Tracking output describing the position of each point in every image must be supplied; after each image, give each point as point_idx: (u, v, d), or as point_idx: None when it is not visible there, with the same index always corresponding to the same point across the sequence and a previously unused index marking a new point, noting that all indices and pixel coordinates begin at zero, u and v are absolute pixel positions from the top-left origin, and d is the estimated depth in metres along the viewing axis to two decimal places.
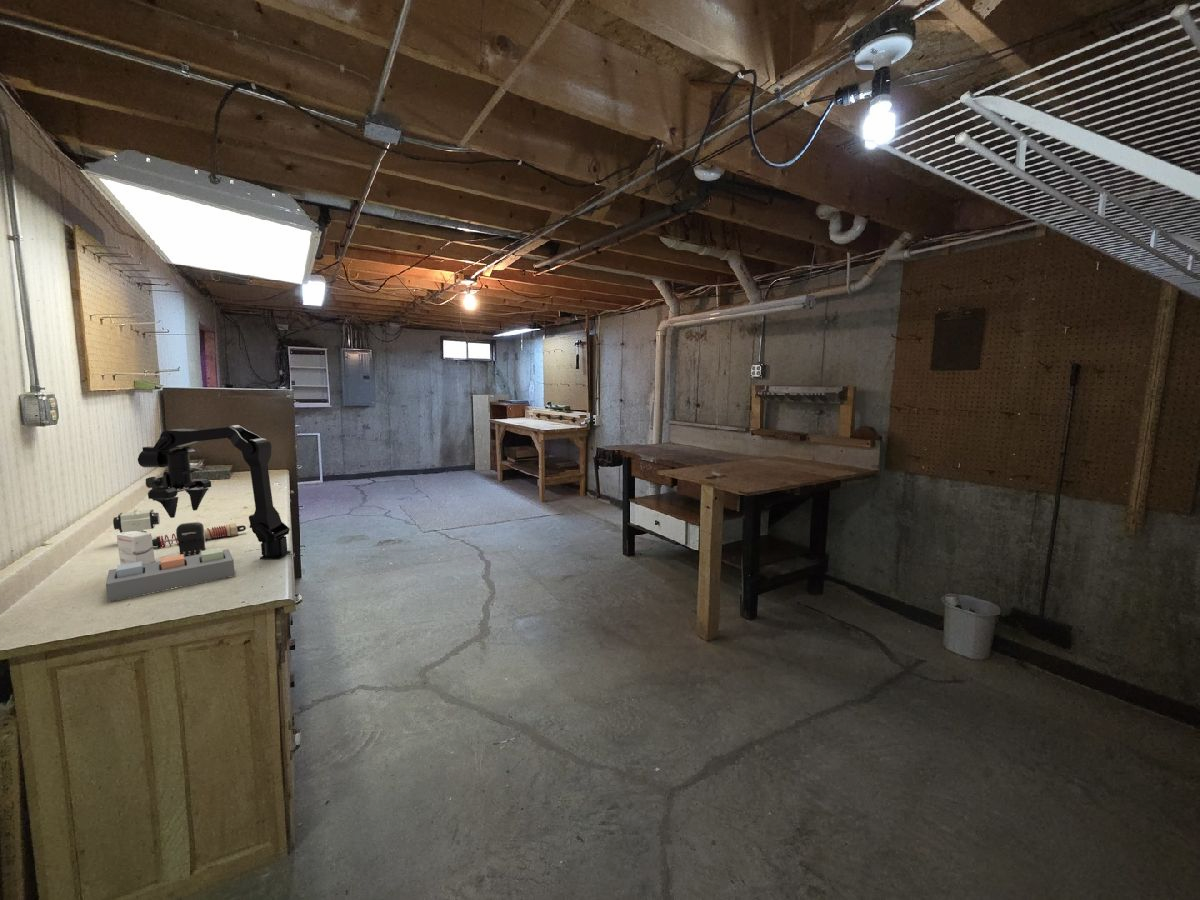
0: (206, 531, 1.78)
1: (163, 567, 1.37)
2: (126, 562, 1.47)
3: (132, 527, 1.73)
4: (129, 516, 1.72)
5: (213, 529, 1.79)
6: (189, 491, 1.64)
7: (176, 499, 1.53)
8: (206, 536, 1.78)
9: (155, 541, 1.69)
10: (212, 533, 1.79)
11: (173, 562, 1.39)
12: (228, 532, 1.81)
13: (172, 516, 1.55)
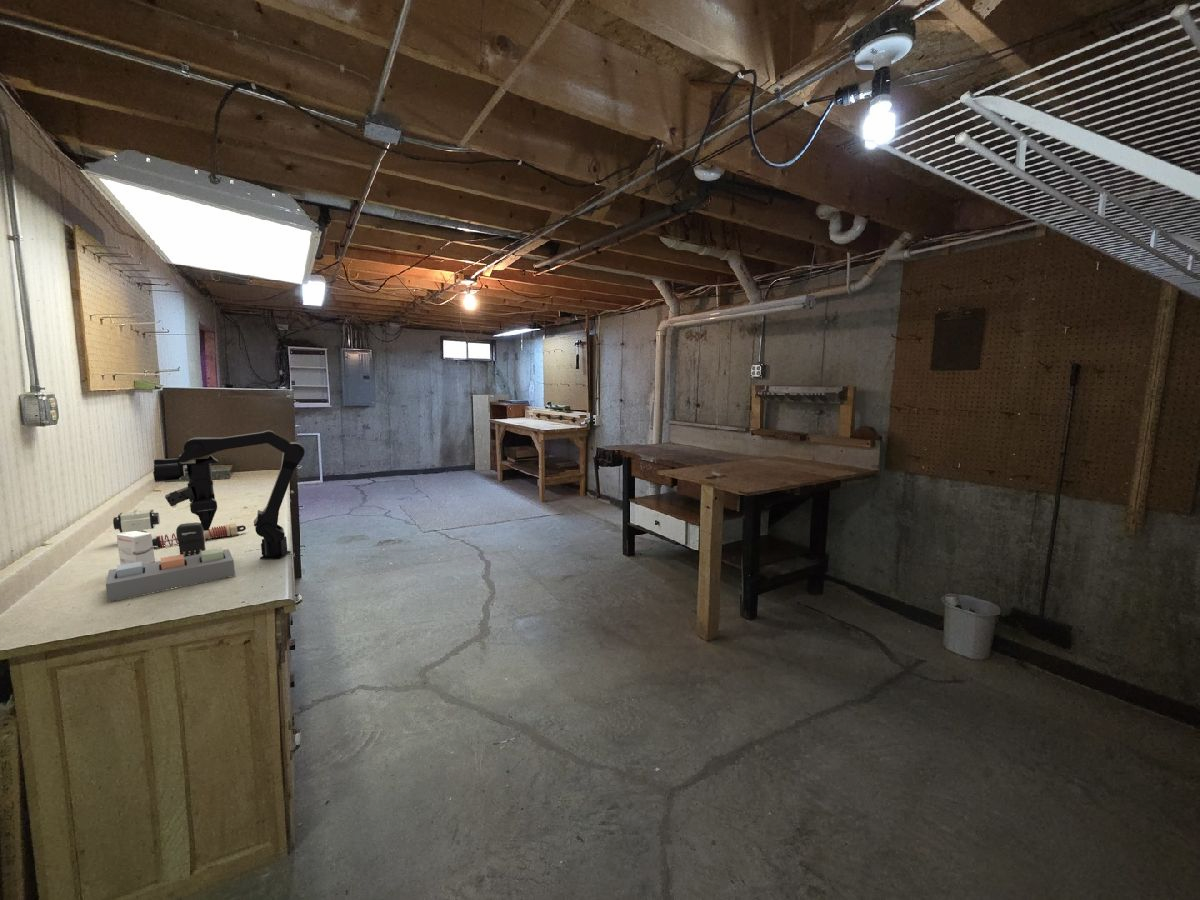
0: (206, 531, 1.78)
1: (163, 567, 1.37)
2: (126, 562, 1.47)
3: (132, 527, 1.73)
4: (129, 516, 1.72)
5: (213, 529, 1.79)
6: None
7: None
8: (206, 536, 1.78)
9: (155, 541, 1.69)
10: (212, 533, 1.79)
11: (173, 562, 1.39)
12: (228, 532, 1.81)
13: (207, 529, 1.47)
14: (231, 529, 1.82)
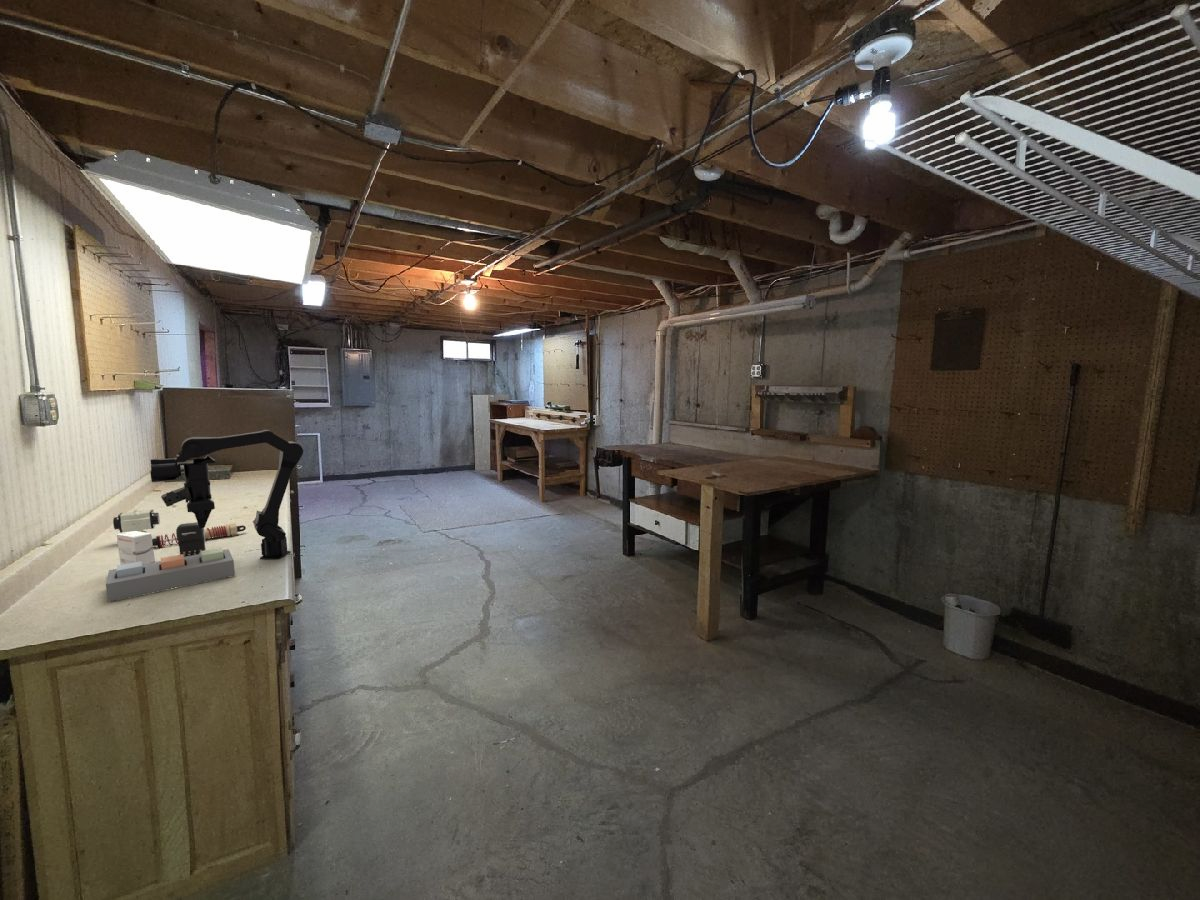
0: (206, 531, 1.78)
1: (163, 567, 1.37)
2: (126, 562, 1.47)
3: (132, 527, 1.73)
4: (129, 516, 1.72)
5: (213, 529, 1.79)
6: None
7: None
8: (206, 536, 1.78)
9: (155, 541, 1.69)
10: (212, 533, 1.79)
11: (173, 562, 1.39)
12: (228, 532, 1.81)
13: (203, 526, 1.49)
14: (231, 529, 1.82)
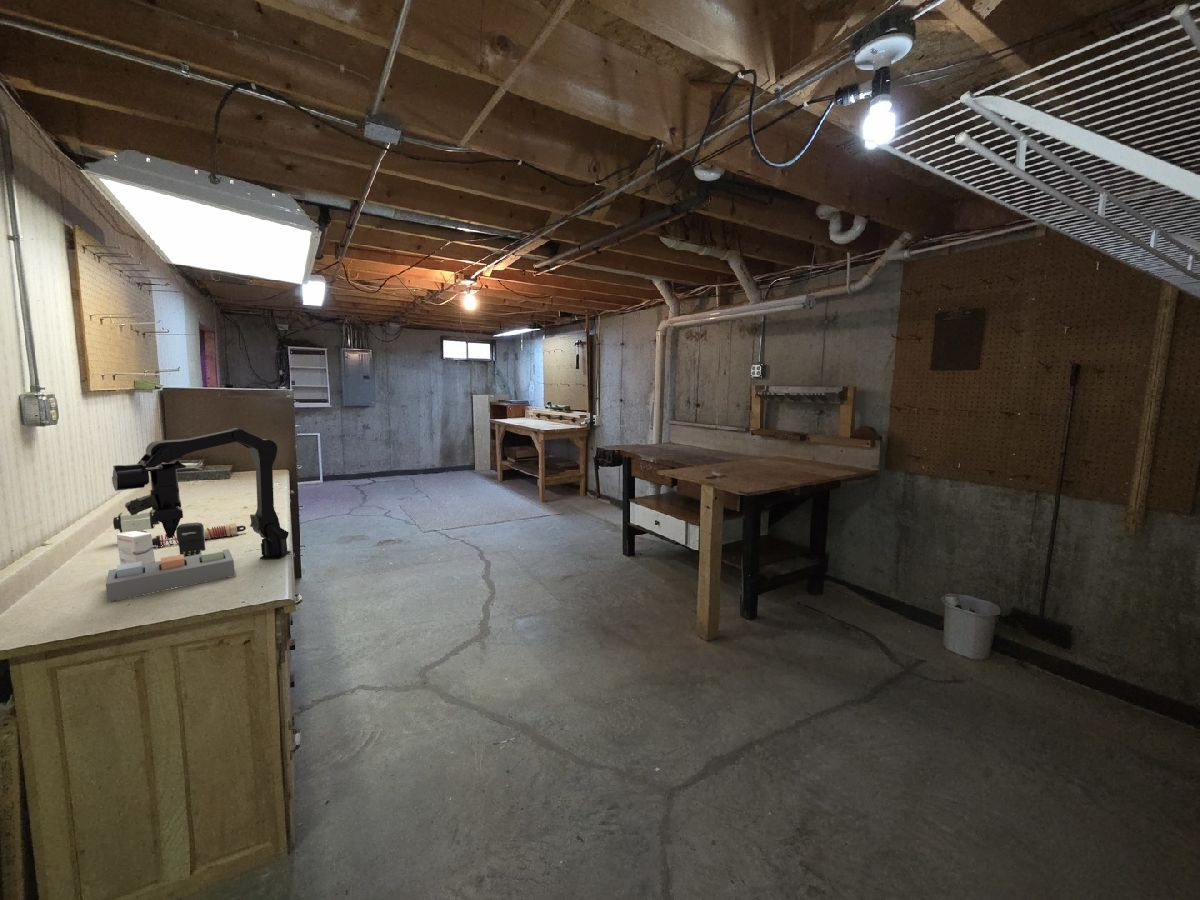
0: (206, 531, 1.78)
1: (163, 567, 1.37)
2: (126, 562, 1.47)
3: (132, 527, 1.73)
4: (129, 516, 1.72)
5: (213, 529, 1.79)
6: None
7: None
8: (206, 536, 1.78)
9: (155, 540, 1.69)
10: (212, 533, 1.79)
11: (173, 562, 1.39)
12: (227, 532, 1.81)
13: (171, 536, 1.39)
14: (231, 529, 1.82)
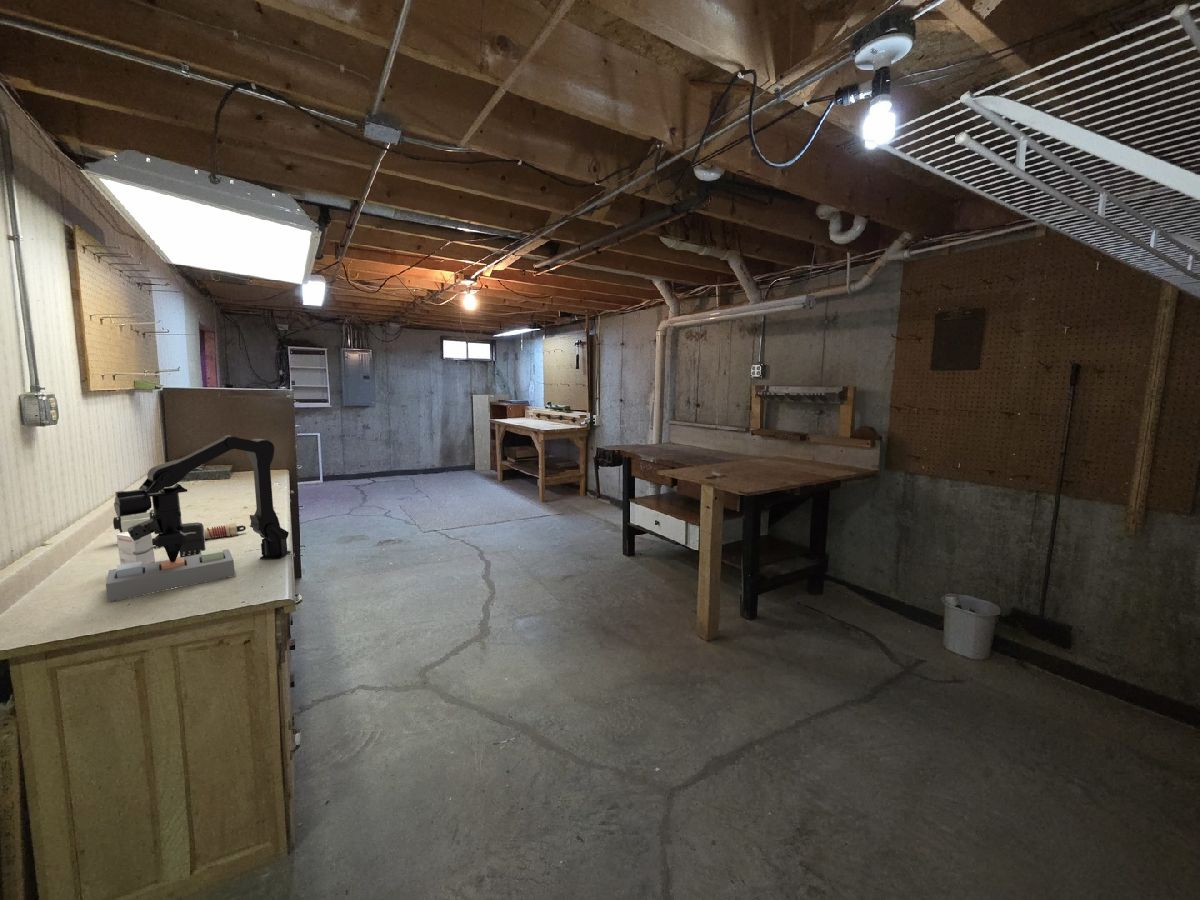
0: (206, 531, 1.78)
1: None
2: (126, 562, 1.47)
3: None
4: (129, 516, 1.72)
5: (213, 529, 1.79)
6: None
7: None
8: (205, 536, 1.78)
9: None
10: (211, 533, 1.79)
11: (173, 566, 1.39)
12: (227, 532, 1.81)
13: (174, 560, 1.40)
14: (231, 529, 1.82)
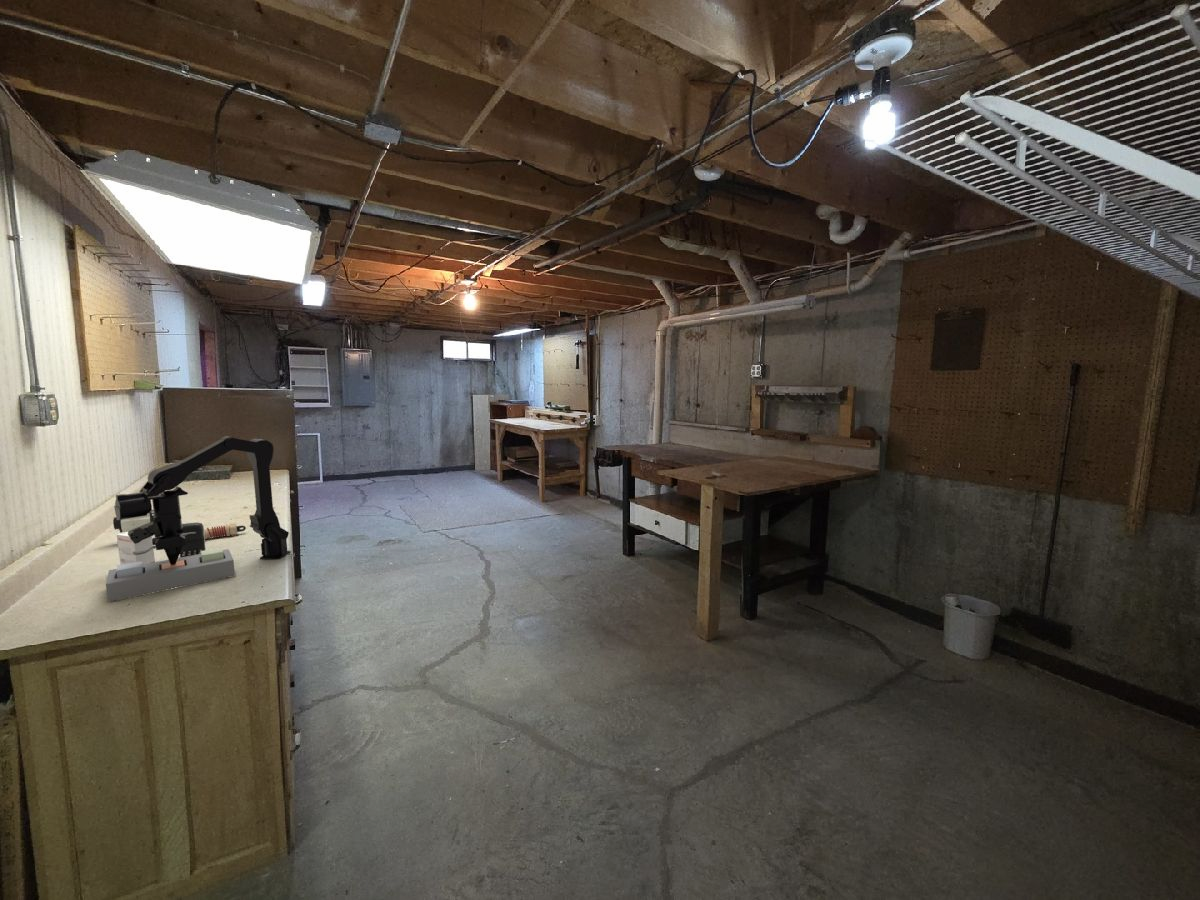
0: (206, 531, 1.78)
1: None
2: (126, 562, 1.47)
3: (132, 527, 1.73)
4: None
5: (212, 529, 1.79)
6: None
7: None
8: (205, 536, 1.78)
9: (155, 540, 1.70)
10: (211, 533, 1.79)
11: None
12: (227, 532, 1.81)
13: (174, 562, 1.40)
14: (230, 529, 1.82)
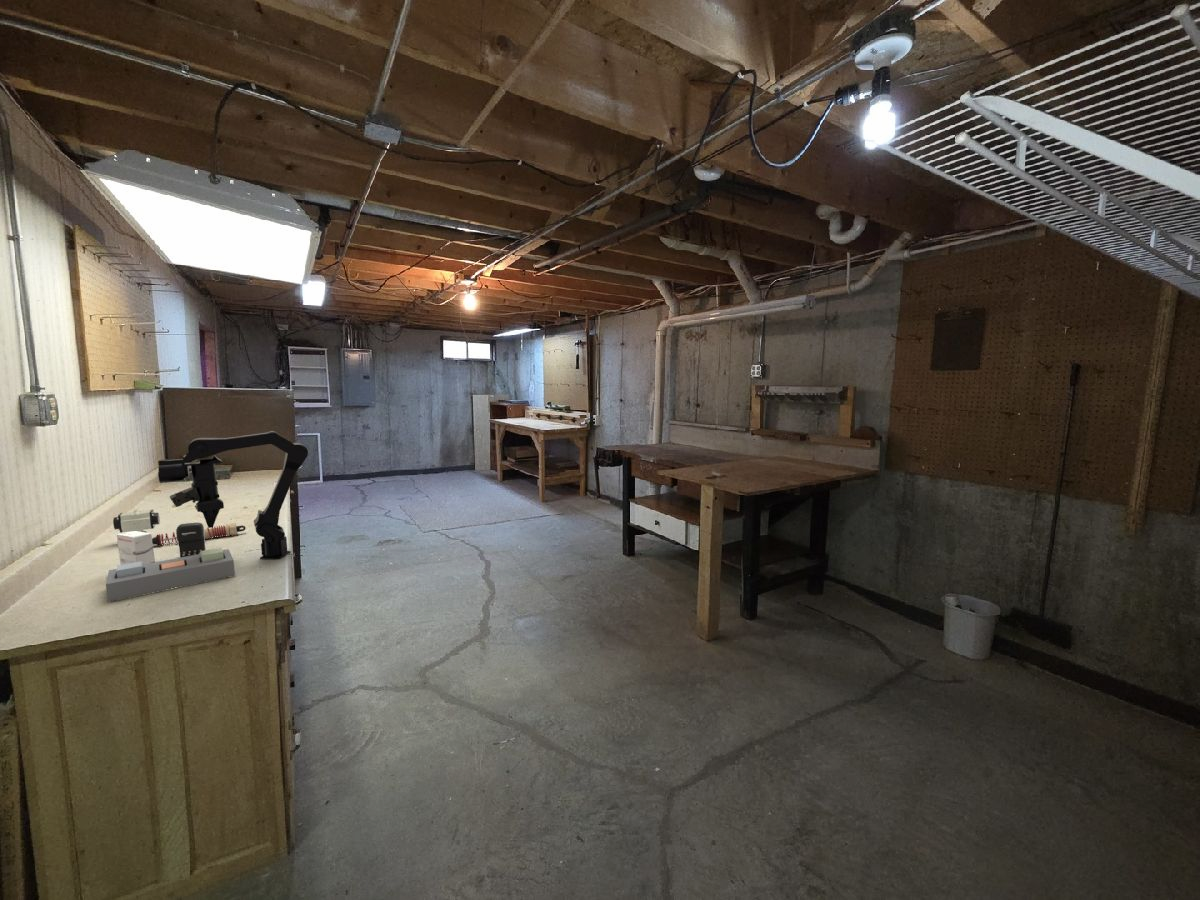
0: (205, 530, 1.79)
1: None
2: (126, 562, 1.47)
3: (132, 527, 1.73)
4: (129, 516, 1.72)
5: (212, 529, 1.79)
6: None
7: None
8: (205, 535, 1.78)
9: (155, 539, 1.70)
10: (211, 532, 1.79)
11: None
12: (227, 532, 1.81)
13: (211, 526, 1.51)
14: (230, 529, 1.82)
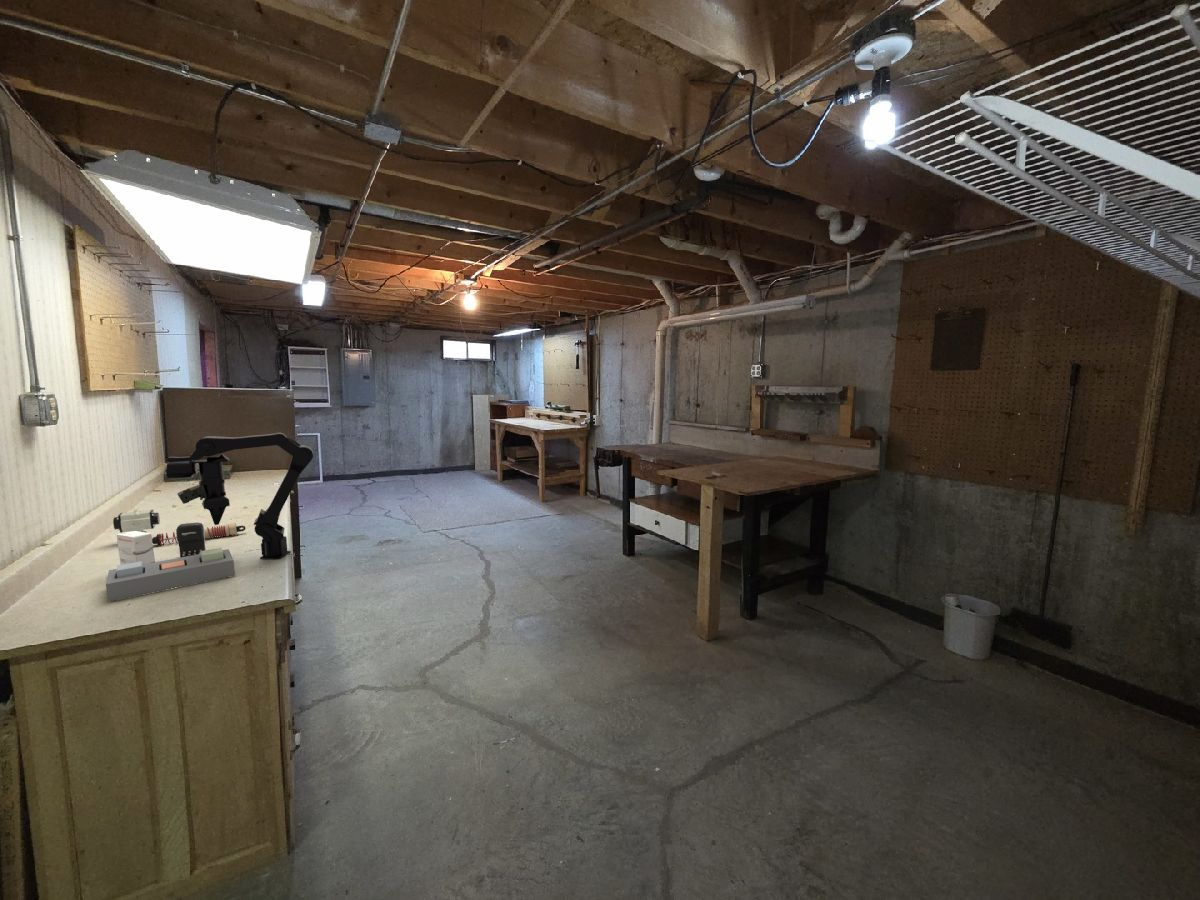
0: (205, 530, 1.79)
1: None
2: (126, 562, 1.47)
3: (132, 527, 1.73)
4: (129, 516, 1.72)
5: (212, 528, 1.80)
6: None
7: None
8: (205, 535, 1.78)
9: (155, 539, 1.71)
10: (211, 532, 1.79)
11: None
12: (227, 532, 1.81)
13: (217, 523, 1.53)
14: (230, 529, 1.82)
